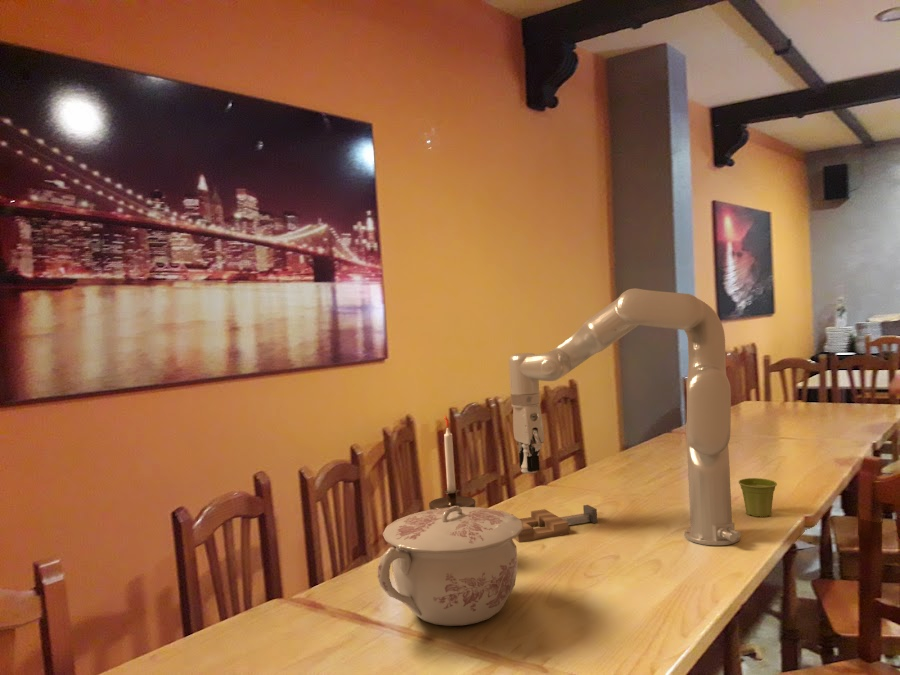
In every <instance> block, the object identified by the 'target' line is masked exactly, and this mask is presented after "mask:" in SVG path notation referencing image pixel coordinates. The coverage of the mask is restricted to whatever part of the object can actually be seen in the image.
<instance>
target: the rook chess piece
mask: <svg viewBox="0 0 900 675" xmlns="http://www.w3.org/2000/svg"><path fill="white" fill-rule="evenodd" d="M530 444H534V442H531V443H530ZM522 447H523V448H524V450H523V452H524V460H523V464H522V465H521V469H520V471H521V473H522V474H526V475H527V474H528V475H529V474H536V473H537V472H538V471H532V472H529V471H528V470H527V456H528V452H527V445H526V444H522ZM530 447H531V449H532V447H534V446H530Z"/></svg>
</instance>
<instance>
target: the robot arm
mask: <svg viewBox="0 0 900 675" xmlns="http://www.w3.org/2000/svg"><path fill="white" fill-rule="evenodd" d="M638 326H646V327H655V328H663V329H672V330H680V331H684V332H685V334H686V337H687V341H688V342H687V345H688V346H687V351H688V352H687V354H688V367H687V368H688V369H687V370H688V371H687V378H686V421H685V422H686V423H685V438H686V451H687V454H686V455H687V471H688V472H687V473H688V474H687V476H688V477H687V480H688V497H689V499H688V500H689V516H690V527H688V528H687V529H685V530H684V538H685V539H687V540H688V541H690V542H692V543H696V544H699V545H707V546H728V545H733V544H736V543H738V542H739V541H740V540H741V539H740V538H741V536H742V532H741V531H739V530H735V529H736V527H735V522H733V517H732V516H733V512H732V494H731V493H732V492H731V470H730V469H731V468H730V467H731V466H730V455H729V454H730V453H729V442H730V439H731V429H732V428H731V421H732V418H731V417H732V416H731V411H732V409H731V407H732V392H731V391H732V390H731V389H732V388H731V383H730V380H729V378H728V376H727V365H726V364H727V355H726V336H725V335H726V334H725V329H724V325H723V323H722V321H721V319H720V317H719V315H718V313H716V311H715V310H714V309H713V308H712V307H711V306H710V305H709V304H708V303H706V302H704V301H703V300H702V299H700V298H698V297H696V296H695V295H693V294H689V293H684V292H682V293H681V292H670V291H659V290H650V289H641V288H635V287H634V288H629V289H627V290H625V291H623V292H622V293H621V294H620V295H619V296H618V297H617V298H616V299H615V300H614V301H612V302H611V303H609V304H608V305H607V306H605V307H604V308H602V309H601V310H600V311H598V312H596V314H594V315H592V316H591V317H590V318H588V319H587V320H586V321H584V323H582V325H581V326H580V328H578V330H577V331H575V333H573V334H572V335H571V336H570V337H568V338H567V339H566V340H565V341H563V342H561V343H560V344H559V345H557V346H556V347H554V348H553V349H551V350H549V351H547V352H544V353H538V354H535V353H532V352H521V353H514V354H511V355H510V356H509V358H508V369H509V370H508V372H509V385H510V401H511V403H510V405H511V407H512V409H513V411H512V428H513V429H512V430H513V438H514V440H515V441H516V444H517V447H518V448H517V452H518V462H519V468H521V465H522V464H523V460H524V452H523V450H524V448H523V447H522V444H526V445H527V452H528V456H527V470H528V471H529V472H532V471H537V472H538V471H540V450H541V448H542V444H543V443H545V432H544V421H543V416H542V410H541V398H540V397H541V396H540V381H542V382H543V381H544V382H555V381H558V380H559V379H562V377H564V376H566V375H567V374H569V373H570V372H571V371H573V370H574V369H575V368H577V367H579V366H580V365H581V364H582V363H584V362H585V361H587V360H588V359H590V358H591V357H593V356H595V355H596V354H598V353H600V352H602V351H604V350H606V349H607V348H609V347H610V346H611V345H613V344H614V343H616V342H617V341H618V340H620V339H621V338H623V337H624V336H626V335H627V334H628V333H629V332H631V331H633V330H634V329H635V328H637V327H638ZM531 442H532V443H533V444H530V443H531ZM530 446H533V447H532V449H531V447H530ZM521 469H522V468H521Z"/></svg>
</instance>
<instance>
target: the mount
mask: <svg viewBox="0 0 900 675" xmlns="http://www.w3.org/2000/svg"><path fill="white" fill-rule="evenodd" d="M511 514H512V513H511ZM512 515H514V514H512ZM560 517H561V516H558V515H556V514H554V513H553V512H551V511H548V509H545V508H543V509H537V510H531V511H530V517H529V516H528V517H522V518H519V517H517V518H518V519H519V520H521V521H522V523H523V530H522V531H521V532H520V533H519V535H518V536H517V537H516V538H514V539H513V540H515V541H516V542H518V543H523V542H528V541H534V540H541V539H546V538H552V537H559V536H565V535H569V534H570V532H569V529H570V528H569V525H568V522H567V521H565V520H563V519H561V518H560ZM533 526H535V527H533ZM542 526H543V527H542Z"/></svg>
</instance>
